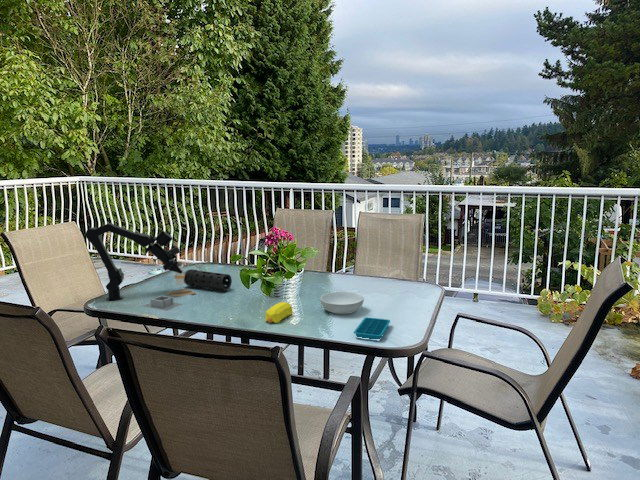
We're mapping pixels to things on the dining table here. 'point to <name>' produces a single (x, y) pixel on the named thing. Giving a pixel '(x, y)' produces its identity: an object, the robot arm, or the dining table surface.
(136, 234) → the robot arm
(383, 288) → the dining table surface
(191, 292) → the pad
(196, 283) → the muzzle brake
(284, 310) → the yellow oblong piece
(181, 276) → the plug
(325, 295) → the serving bowl
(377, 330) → the ice cube tray
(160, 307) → the socket panel
